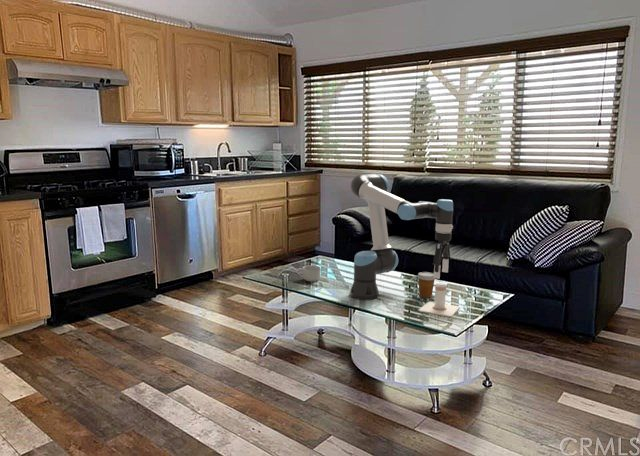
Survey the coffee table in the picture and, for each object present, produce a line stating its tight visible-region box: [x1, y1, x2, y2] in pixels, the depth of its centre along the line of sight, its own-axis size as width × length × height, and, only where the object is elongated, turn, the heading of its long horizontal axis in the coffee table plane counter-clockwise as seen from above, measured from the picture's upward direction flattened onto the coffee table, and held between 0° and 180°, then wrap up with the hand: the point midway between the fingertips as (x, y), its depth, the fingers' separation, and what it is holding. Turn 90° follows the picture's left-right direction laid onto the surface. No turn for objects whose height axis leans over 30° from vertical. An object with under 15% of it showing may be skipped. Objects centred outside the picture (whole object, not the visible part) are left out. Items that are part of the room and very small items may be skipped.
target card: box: [418, 300, 461, 318], centre depth 241 cm, size 16×16×1 cm
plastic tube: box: [434, 282, 447, 310], centre depth 240 cm, size 5×5×12 cm
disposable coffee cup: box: [417, 271, 436, 298], centre depth 262 cm, size 10×10×12 cm
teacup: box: [296, 264, 322, 283], centre depth 291 cm, size 14×11×8 cm
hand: (440, 275), depth 238 cm, fingers open, 13 cm apart
